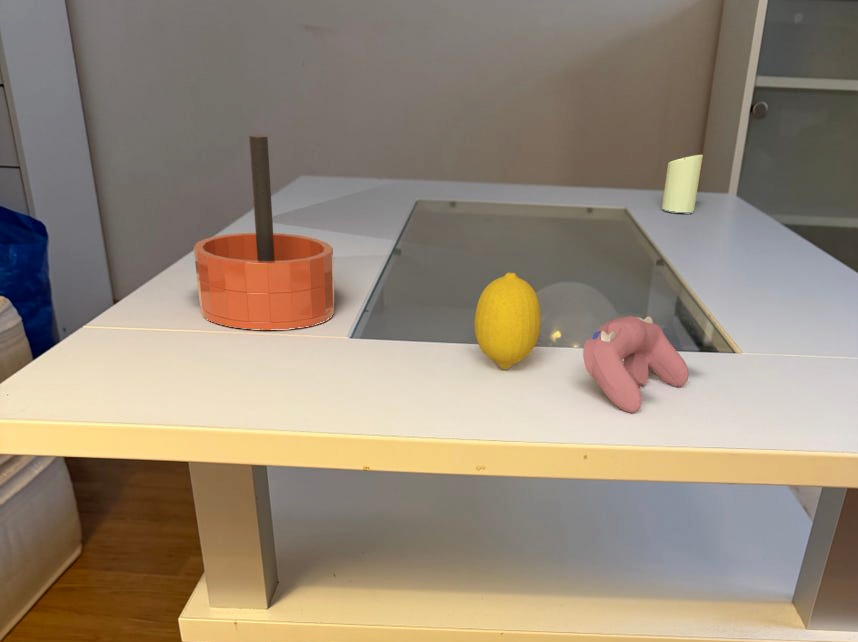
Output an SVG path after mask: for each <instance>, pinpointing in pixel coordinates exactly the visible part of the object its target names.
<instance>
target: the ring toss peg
mask: <svg viewBox="0 0 858 642" xmlns="http://www.w3.org/2000/svg"><path fill="white" fill-rule="evenodd" d="M248 140H249V155H250V156H249V157H250V169H251V171H250V172H251V184H252V199H253V213H254V214H253V215H254V227H255V233H256V245H257V259H258V261H275V254H274V237H273V233H274V224H273V223H274V221H273V205H272V204H273V203H272V190H271V187H272V186H271V173H270V172H271V171H270V170H271V169H270V154H269V139H268V136H267V135H264V134H251V135H249V136H248Z"/></svg>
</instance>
